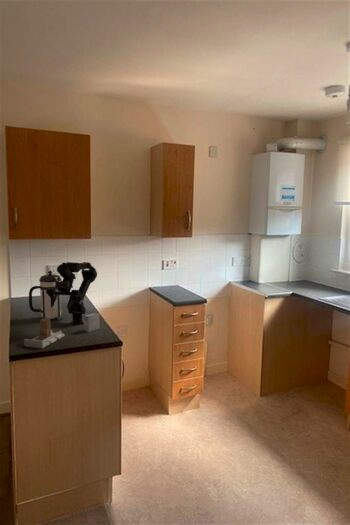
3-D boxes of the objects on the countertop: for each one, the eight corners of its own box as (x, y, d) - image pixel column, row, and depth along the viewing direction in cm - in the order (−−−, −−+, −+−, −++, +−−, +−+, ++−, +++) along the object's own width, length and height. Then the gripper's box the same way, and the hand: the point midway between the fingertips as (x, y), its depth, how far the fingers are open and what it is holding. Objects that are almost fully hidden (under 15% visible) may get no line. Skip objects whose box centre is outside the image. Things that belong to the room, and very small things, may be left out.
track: (48, 334, 205) (47, 327, 204) (64, 335, 202) (64, 329, 202) (24, 346, 185) (23, 339, 185) (42, 348, 183) (41, 341, 182)
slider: (43, 336, 196) (43, 318, 195) (51, 337, 195) (50, 319, 194) (39, 339, 192) (38, 320, 191) (46, 339, 191) (46, 321, 190)
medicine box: (95, 327, 217) (94, 312, 216) (100, 329, 214) (99, 314, 213) (83, 330, 211) (83, 315, 210) (88, 332, 208) (88, 317, 207)
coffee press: (51, 314, 245) (50, 268, 241) (69, 317, 237) (68, 270, 233) (29, 320, 230) (27, 271, 226) (47, 324, 222) (45, 273, 218)
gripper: (46, 274, 206) (36, 300, 198) (78, 275, 202) (70, 301, 194) (54, 284, 215) (45, 309, 207) (85, 285, 212) (77, 311, 203)
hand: (59, 307), depth 203 cm, fingers open, 9 cm apart
